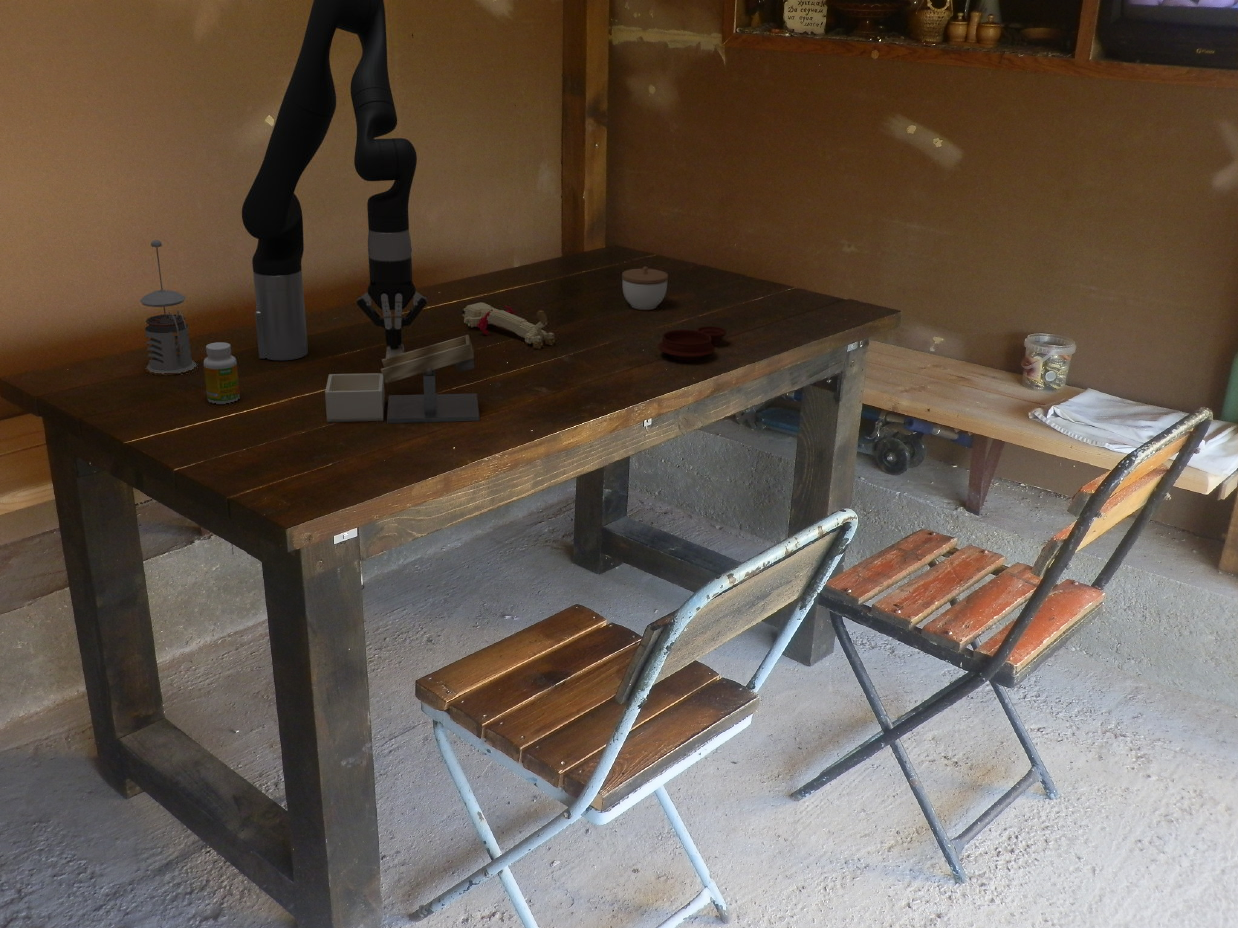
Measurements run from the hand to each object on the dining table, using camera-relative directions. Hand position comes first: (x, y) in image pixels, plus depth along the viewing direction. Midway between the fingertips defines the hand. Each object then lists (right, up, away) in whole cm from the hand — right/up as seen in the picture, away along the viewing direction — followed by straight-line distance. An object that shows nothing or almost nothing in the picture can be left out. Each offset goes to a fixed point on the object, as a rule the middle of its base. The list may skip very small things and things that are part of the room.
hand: (394, 347), depth 220 cm
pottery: (+57, +2, +33) cm, 66 cm away
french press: (-45, -3, +13) cm, 47 cm away
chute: (+8, -4, -3) cm, 9 cm away
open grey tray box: (-6, -12, -6) cm, 14 cm away
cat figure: (+16, +6, +40) cm, 44 cm away
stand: (+7, -12, -4) cm, 14 cm away
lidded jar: (+47, +16, +64) cm, 80 cm away
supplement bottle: (-31, -10, -2) cm, 32 cm away
